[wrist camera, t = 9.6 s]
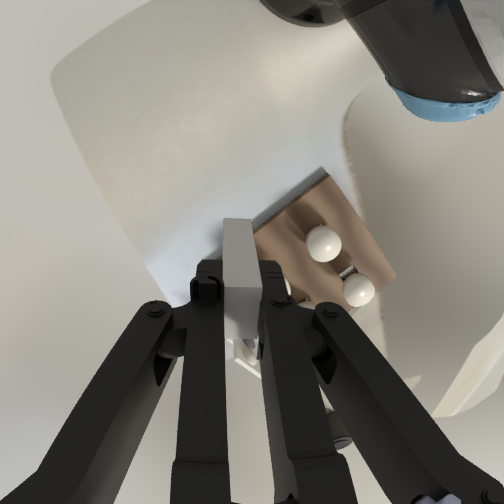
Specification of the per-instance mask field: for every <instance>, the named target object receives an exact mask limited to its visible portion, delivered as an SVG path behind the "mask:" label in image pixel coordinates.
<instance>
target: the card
mask: <svg viewBox="0 0 504 504" xmlns="http://www.w3.org/2000/svg"><path fill="white" fill-rule="evenodd" d="M226 340H227V341H229V342H230V343H231V344H233V346H234V360H235V361H236V362H238V363H239V364H240V365H242V366H243V367H245V368H246V369H247V370H249V371H250V372H252V373H253V374H255V375H256V376H258V377H259V378H260V379H261V371H260V363H259V360H256V359H257V350H258V341H259V340H257V339H226Z"/></svg>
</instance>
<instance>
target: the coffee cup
mask: <svg viewBox="0 0 504 504" xmlns="http://www.w3.org/2000/svg"><path fill="white" fill-rule="evenodd" d="M327 418H328V421H329V425H330V429H331V433H332V437H333V441H334V445H335V448H336V450H339V449H342V448H344V447H347V446H348V445H350V444H351V443H352V441H353V440H352V439H351V437H350V435H349V434H348V432H347V430H346V429H345V427H344V425H343V424H342V422H341V420H340V419H339V417H338V415H337V414H336V412H330V413H328V414H327Z"/></svg>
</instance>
